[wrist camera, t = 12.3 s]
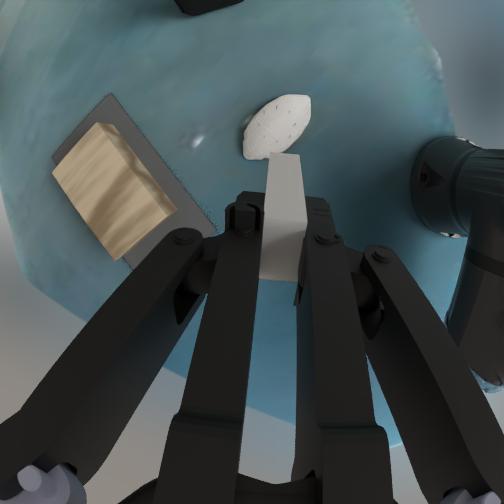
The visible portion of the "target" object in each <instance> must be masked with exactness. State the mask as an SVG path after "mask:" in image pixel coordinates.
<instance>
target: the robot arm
mask: <svg viewBox="0 0 504 504" xmlns="http://www.w3.org/2000/svg"><path fill="white" fill-rule="evenodd" d="M410 190H411V197H412V202H413V205H414V208H415V210H416V212H417V214H418V216H419V218H420V219H421V220H422V222H423V223H424V224H425V225H426V226H427V227H428V228H430V229H431V230H433V231H435V232H437V233H439V234H441V235H443V236H446V237H450V238H461V237H468V240H467V245H466V249H465V254H464V257H463V261H462V265H461V269H460V273H459V277H458V281H457V284H456V288H455V291H454V294H453V297H452V301H451V304H450V307H449V309H448V311H447V313H446V315H445V320H444V324H443V322H442V321H441V319H440V317H439V316H438V314H437V313H436V311H435V310H434V308H433V307H432V305H431V304H430V302H429V301H428V299H427V297H426V296H425V295H424V293H423V292H422V290H421V289H420V287H419V286H418V284H417V283H416V281H415V280H414V278H413V277H412V276H411V274H410V273H409V271H408V270H407V269H406V267H405V266H404V264H403V263H402V262H401V260H400V259H399V257H398V256H397V255H396V254H395V253H394V252H393V251H392V250H390V249H389V248H387V247H385V246H381V245H370V246H367V247H366V248H365V250H364V253H362V252H359V251H356V250H353V249H350V248H348V247H346V246H344V242H343V239H342V238H341V236H340V235H338V234H337V233H336V232H335V228H334V223H333V219H332V215H331V212H330V207H329V204H328V203H327V202H326V201H325V200H324V199H323V198H317V197H308V196H305V195H304V187H303V179H302V172H301V164H300V157H299V155H295V154H285V153H275V152H270V158H269V167H268V176H267V186H266V193H260V192H248V191H243V192H242V193H241V194H239V195H238V196H237V199H236V202H234V203H231V204H230V205H228V206H227V207H226V209H225V232H224V233H222V234H220V235H218V236H214V237H207V238H203V236H202V233H201V232H200V231H199V230H196V229H194V228H187V227H183V228H177V229H175V230H172V231H171V232H169V233H168V234H167V235H166V236H165V237H164V238H163V239H162V240H161V241H160V242H159V243H158V244H157V245H156V246H155V247H154V248H153V249H152V251H151V252H150V253H149V254H148V255H147V256H146V257H145V258H144V259H143V260H142V261H141V262H140V264H139V265H138V266H137V267H136V268H135V269H134V270H133V271H132V272H131V273H130V275H129V276H128V277H127V278H126V279H125V280H124V281H123V282H122V283H121V285H120V286H119V287H118V288H117V289H116V290H115V291H114V293H113V294H112V295H111V296H110V297H109V298H108V299H107V301H106V302H105V303H104V304H103V305H102V306H101V308H100V309H99V310H98V311H97V312H96V313H95V315H94V316H93V317H92V318H91V319H90V321H89V322H88V323H87V324H86V325H85V326H84V328H83V329H82V330H81V331H80V333H79V334H78V335H77V336H76V337H75V339H74V340H73V341H72V342H71V344H70V345H69V346H68V347H67V349H66V350H65V351H64V352H63V354H62V355H61V356H60V357H59V359H58V360H57V361H56V362H55V364H54V365H53V366H52V368H51V369H50V370H49V371H48V373H47V374H46V376H45V377H44V378H43V380H42V381H41V382H40V383H39V385H38V386H37V387H36V389H35V390H34V391H33V393H32V394H31V395H30V397H29V398H28V399H27V401H26V402H25V404H24V405H23V406H22V408H21V409H20V410H19V411H18V412H17V413H15V414H14V415H12V416H11V417H10V418H8V419H7V420H5V421H4V422H3V423H1V424H0V504H86V502H87V500H86V492H85V489H84V487H83V486H84V485H85V484H86V483H87V482H88V481H89V480H90V479H91V478H92V477H93V475H94V474H95V473H96V472H97V471H98V470H99V468H100V467H101V466H102V464H103V463H104V461H105V460H106V458H107V457H108V455H109V453H110V452H111V450H112V448H113V447H114V445H115V443H116V441H117V440H118V438H119V436H120V435H121V433H122V431H123V430H124V428H125V427H126V425H127V423H128V422H129V420H130V418H131V417H132V415H133V413H134V411H135V410H136V408H137V407H138V405H139V403H140V402H141V400H142V399H143V397H144V395H145V393H146V392H147V390H148V389H149V387H150V385H151V384H152V382H153V381H154V379H155V377H156V376H157V374H158V372H159V371H160V369H161V367H162V366H163V364H164V363H165V361H166V359H167V358H168V356H169V354H170V353H171V351H172V350H173V348H174V346H175V345H176V343H177V342H178V340H179V338H180V337H181V335H182V333H183V332H184V330H185V329H186V327H187V325H188V324H189V322H190V321H191V319H192V317H193V316H194V314H195V313H196V311H197V309H198V308H199V306H200V305H201V303H202V301H203V300H204V298H205V295H206V293H208V296H207V300H206V303H205V307H204V311H203V315H202V319H201V323H200V327H199V331H198V335H197V339H196V343H195V348H194V352H193V356H192V360H191V364H190V368H189V372H188V377H187V381H186V386H185V389H184V394H183V398H182V402H181V406H180V410H179V412H178V413H177V414H175V415H174V417H173V419H172V421H171V424H170V427H169V431H168V436H167V440H166V444H165V449H164V454H163V459H162V462H161V467H160V472H159V476H158V478H156V479H154V480H152V481H150V482H148V483H147V484H144V485H143V486H142V487H140V488H139V489H138V490H136V491H135V492H133V493H132V494H131V495H129V496H128V497H126V498H125V499H124V500H122V501H121V502H119V503H118V504H398V503H397V502H396V501H395V500H394V499H393V489H392V475H391V464H390V452H389V443H388V437H387V433H386V431H385V430H384V428H383V427H381V426H379V425H377V423H376V421H375V417H374V408H373V400H372V392H371V385H370V378H369V371H368V364H367V358H366V354H367V356H368V359H369V361H370V363H371V366H372V368H373V370H374V372H375V375H376V377H377V380H378V382H379V384H380V387H381V389H382V391H383V394H384V396H385V399H386V401H387V404H388V406H389V408H390V411H391V413H392V416H393V418H394V421H395V423H396V426H397V429H398V431H399V434H400V436H401V439H402V441H403V444H404V446H405V449H406V452H407V455H408V457H409V460H410V463H411V465H412V468H413V471H414V474H415V477H416V479H417V482H418V483H419V486H420V489H421V491H422V493H423V495H424V496H425V498H426V500H427V502H428V503H429V504H504V434H503V432H502V430H501V428H500V426H499V423H498V422H497V419H496V417H495V415H494V413H493V411H492V409H491V407H490V405H489V403H488V401H487V399H486V397H485V395H484V393H483V391H482V389H483V390H484V391H485V392H486V393H495V392H499V391H501V390H502V389H503V388H504V149H483V148H481V147H478V146H477V145H476V144H475V143H473V142H471V141H469V140H468V139H465V138H462V137H456V136H451V137H441V138H438V139H435V140H433V141H431V142H430V143H429V144H427V145H426V146H425V147H424V148H423V149H422V151H421V152H420V153H419V155H418V157H417V158H416V160H415V163H414V166H413V169H412V173H411V181H410ZM297 277H298V285H297V290H296V295H295V300H294V306H296V308H297V393H296V439H295V458H294V464H293V468H292V474H291V482H288V483H282V484H271V483H268V482H264V481H261V480H258V479H255V478H251V477H248V476H245V475H242V474H239V473H238V469H239V461H240V452H241V442H242V434H243V424H244V415H245V406H246V397H247V388H248V378H249V369H250V359H251V350H252V340H253V331H254V321H255V311H256V301H257V291H258V281H259V279H269V280H279V281H290V282H297Z"/></svg>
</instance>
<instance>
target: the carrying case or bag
mask: <svg viewBox="0 0 504 504" xmlns="http://www.w3.org/2000/svg"><path fill="white" fill-rule="evenodd" d="M174 1H175V2H176V4H177V5H178V7H179V8H180V10H181V12H182V13H185V14H188V15H191V16H197V15H200V14H203V13H207V12H210V11H213V10H216V9H220V8H223V7H227V6H230V5H234V4H238V3H240V2H242V1H244V0H174Z"/></svg>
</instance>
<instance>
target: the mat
mask: <svg viewBox="0 0 504 504" xmlns="http://www.w3.org/2000/svg"><path fill="white" fill-rule="evenodd" d="M96 122H99V123H105V124H111V125H114V127H115V128H116V129H117V131H118V132H119V133H120V135H121V136H122V137H123V139H124V140H125V141H126V143H127V144H128V145H129V147H130V148H131V149H132V151H133V152H134V153H135V155H136V156H137V157H138V159H139V160H140V161H141V163H142V164H143V165H144V167H145V168H146V169H147V171H148V172H149V173H150V174H151V176H152V177H153V178H154V180H155V181H156V182H157V184H158V185H159V186H160V187H161V189H162V190H163V191H164V193H165V194H166V195H167V197H168V198H169V199H170V200H171V202H172V203H173V204H174V206H175V207H176V208H177V209H178V210H177V211H176V212H174V213H173V214H172V215H171V216H170V217H168V218H167V219H166V220H165V221H164V222H162V223H161V224H160V225H159V226H158V227H157V228H155V229H154V230H153V231H152V232H151V233H150V234H148V235H147V236H146V237H145V238H144V239H143V240H141V241H140V242H139V243H138V244H137V245H136V246H135V247H133V248H132V249H131V250H130V251H129V252H127V253H126V254H125V255H123V257H124V259H125V260H126V261H127V262H128V264H129V265H130V266H131V267H132V269H133V270H134V269H135V268H136V267H137V266H138V265H139V264H140V262H141V261H142V260H143V259H144V258H145V257H146V256H147V255H148V254H149V253H150V252H151V251H152V249H153V248H154V247H155V246H156V245H157V244H158V243H159V242H160V241H161V240H162V239H163V238H164V237H165V236H166V235H167V234H168V233H169V232H171V231H172V230H175V229H177V228H183V227H187V228H194V229H196V230H199V231H200V232H201V233H202V236H203V238H207V237H209V236H210V235H212V234H213V233H214V232H216V231H217V229H216V228H215V227H214V225H213V224H212V223H211V221H210V220H209V219H208V218H207V216H206V215H205V214H204V212H203V211H202V210H201V209H200V207H199V206H198V205H197V203H196V202H195V201H194V200H193V198H192V197H191V196H190V195H189V193H188V192H187V191H186V189H185V188H184V187H183V186H182V184H181V183H180V182H179V180H178V179H177V178H176V176H175V175H174V174H173V173H172V171H171V170H170V169H169V167H168V166H167V165H166V164H165V162H164V161H163V160H162V158H161V157H160V156H159V154H158V153H157V152H156V151H155V149H154V148H153V147H152V145H151V144H150V143H149V141H148V140H147V139H146V138H145V136H144V135H143V134H142V132H141V131H140V130H139V128H138V127H137V126H136V124H135V123H134V122H133V121H132V119H131V118H130V117H129V115H128V114H127V113H126V111H125V110H124V109H123V107H122V106H121V105H120V103H119V102H118V101H117V99H116V98H115V97H114V96H113V94H112V93H110V94H109V95H108V96H107V97H106V98H105V99H104V100H103V101H102V102H101V103H100V104H99V105H98V106H97V107H96V108H95V109H94V110H93V111H92V112H91V113H90V114H89V115H88V116H87V117H86V118H85V119H84V120H83V121H82V122H81V123H80V124H79V126H78V127H77V128H76V129H75V130H74V131H73V132H72V133H71V135H70V136H69V137H68V138H67V139H66V140H65V141H64V143H63V144H62V145H61V146H60V147H59V148H58V150H57V151H56V152H55V153H54V155H53V156H52V158H53V160H54V161H55V163H56V164H57V166H58V165H59V163H60V162H61V161H62V160H63V159H64V157H65V156H66V155H67V154H68V153H69V152H70V151H71V149H72V148H73V147H74V146H75V145H76V144H77V143H78V142H79V140H80V139H81V138H82V137H83V136H84V135H85V134H86V133H87V132H88V131H89V130H90V129H91V128H92V126H93V125H94V124H95V123H96Z"/></svg>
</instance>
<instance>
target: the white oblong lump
mask: <svg viewBox="0 0 504 504" xmlns="http://www.w3.org/2000/svg"><path fill="white" fill-rule="evenodd" d="M310 100H311V98H309V97H308V96H307V95H299V94H297V95H295V94H293V95H292V94H287V95H283V96H280V97H278V98H277V99H275V100H273V101H272V102H269V103H268V104H266V105H265V106H264V107H263V108H262V109H261V110H260V111H259V112H258V113H257V114H256V115H255V116H254V117H253V118H252V120H251V121H250V123H249V124H248V126H247V128H246V130H245V132H244V134H245V135H244V137H245V139H244V141H243V148H244V149H243V156H244V157H245V158H246V159H247V160H250V159H251V160H254V159H255V160H257V159H258V160H261V159H263V158H270V152H275V153H281V152H283V151H285V150H286V149H287V148H288V147H290V146H291V145H292V144H293V142H294V141H296V140H297V139H298V138H299V137H300V136H301V134H302V132H303V131H304V129H305V127H306V126H307V125H308V123H309V120H310V118H311V106H310V105H311V102H310Z"/></svg>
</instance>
